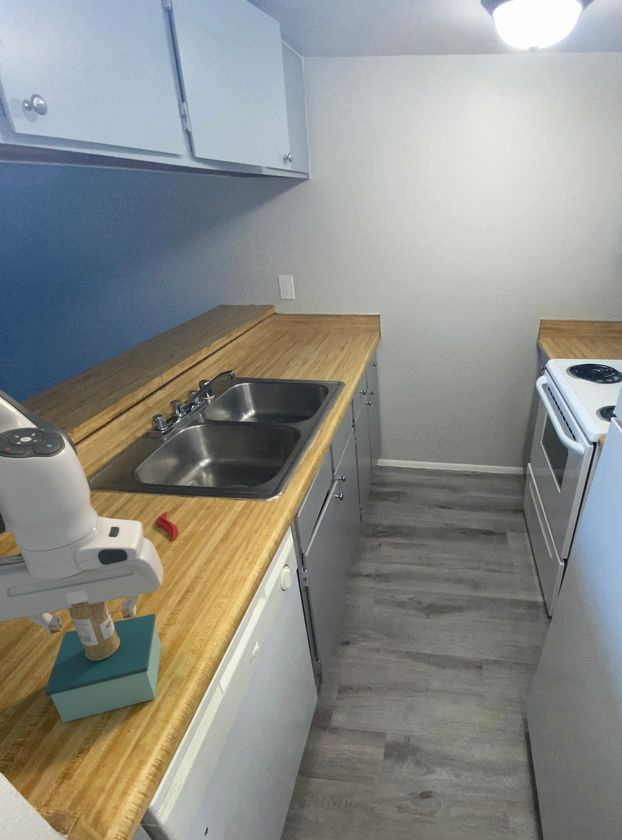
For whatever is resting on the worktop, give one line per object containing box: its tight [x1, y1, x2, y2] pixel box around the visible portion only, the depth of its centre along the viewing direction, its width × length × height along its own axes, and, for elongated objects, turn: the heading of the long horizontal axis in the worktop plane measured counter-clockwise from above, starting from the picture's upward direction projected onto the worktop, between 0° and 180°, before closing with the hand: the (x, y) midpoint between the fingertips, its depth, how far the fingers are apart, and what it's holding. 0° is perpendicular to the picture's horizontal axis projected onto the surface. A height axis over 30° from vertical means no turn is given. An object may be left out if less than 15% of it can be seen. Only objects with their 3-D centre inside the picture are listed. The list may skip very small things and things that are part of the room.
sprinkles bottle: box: [65, 591, 120, 661], centre depth 68 cm, size 5×5×13 cm
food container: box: [44, 613, 162, 723], centre depth 72 cm, size 13×11×7 cm
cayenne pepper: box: [155, 511, 179, 542], centre depth 108 cm, size 12×5×2 cm, turn 24°
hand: (93, 621), depth 68 cm, fingers open, 8 cm apart
